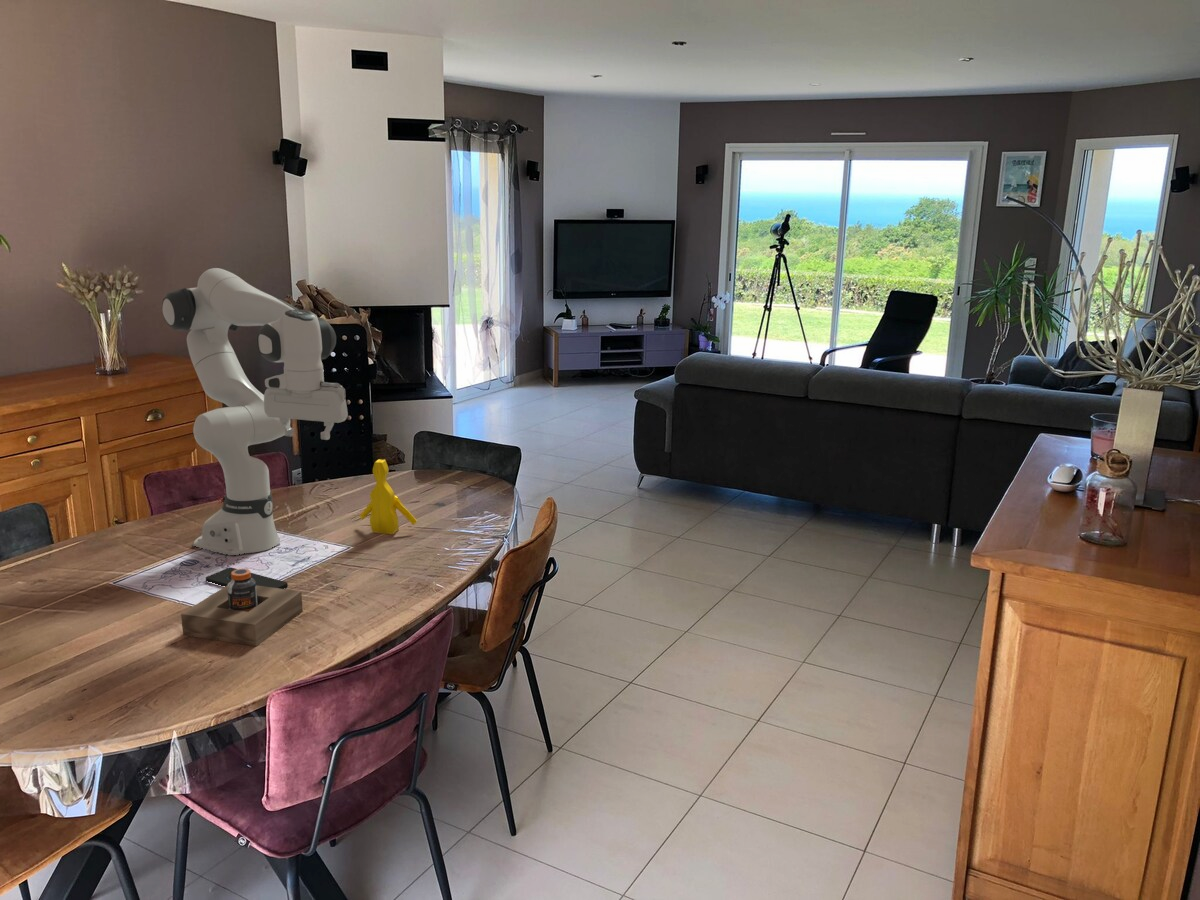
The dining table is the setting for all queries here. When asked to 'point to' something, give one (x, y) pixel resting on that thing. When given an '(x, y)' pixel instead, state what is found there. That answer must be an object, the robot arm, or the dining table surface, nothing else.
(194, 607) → the walnut holder
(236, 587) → the pill bottle
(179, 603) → the dining table surface
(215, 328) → the robot arm
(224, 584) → the smart home device
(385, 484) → the figure statuette
